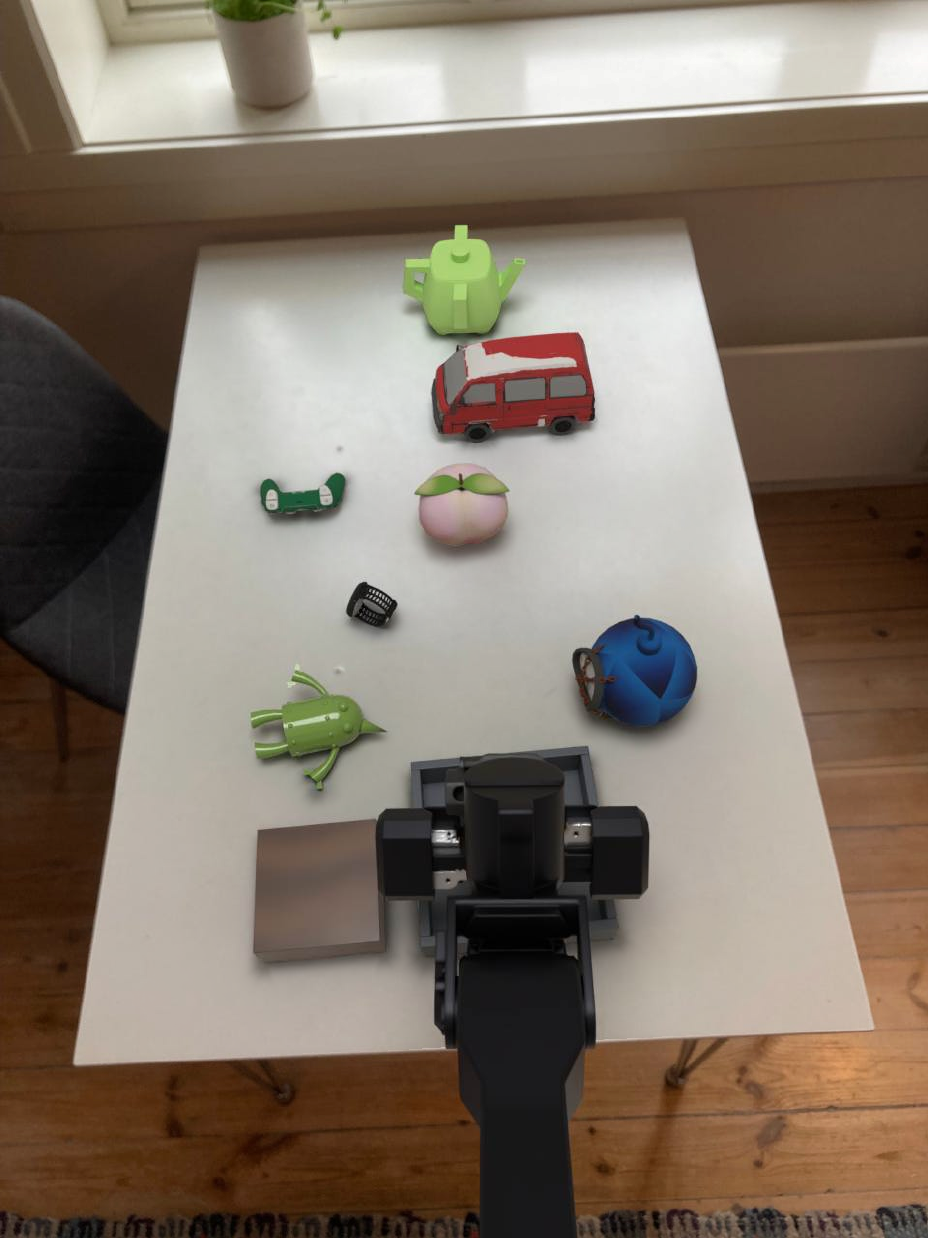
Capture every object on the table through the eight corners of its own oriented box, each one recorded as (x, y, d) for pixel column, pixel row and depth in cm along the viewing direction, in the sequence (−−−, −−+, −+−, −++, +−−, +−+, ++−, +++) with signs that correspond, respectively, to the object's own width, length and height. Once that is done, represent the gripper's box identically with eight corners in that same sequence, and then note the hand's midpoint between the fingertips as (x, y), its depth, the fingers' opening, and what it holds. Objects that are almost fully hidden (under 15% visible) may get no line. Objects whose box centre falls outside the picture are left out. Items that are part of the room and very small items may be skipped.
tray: (613, 940, 75) (619, 928, 71) (424, 958, 75) (420, 947, 71) (584, 763, 83) (588, 745, 79) (414, 779, 83) (410, 761, 79)
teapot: (462, 361, 110) (459, 295, 102) (398, 318, 115) (390, 251, 107) (528, 313, 115) (530, 245, 106) (463, 273, 119) (460, 205, 111)
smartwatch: (371, 594, 93) (365, 566, 89) (405, 624, 91) (400, 597, 87) (341, 618, 92) (333, 591, 88) (374, 649, 90) (368, 623, 86)
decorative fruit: (500, 497, 99) (499, 433, 91) (513, 557, 95) (515, 496, 87) (415, 509, 99) (406, 447, 90) (425, 571, 95) (417, 511, 86)
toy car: (433, 391, 108) (427, 324, 100) (589, 387, 107) (596, 319, 99) (432, 448, 103) (425, 383, 95) (594, 445, 103) (602, 379, 94)
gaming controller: (267, 512, 102) (257, 519, 96) (262, 478, 101) (251, 483, 95) (349, 505, 102) (344, 512, 96) (345, 470, 101) (339, 475, 95)
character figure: (237, 672, 81) (370, 645, 82) (248, 676, 86) (373, 651, 87) (261, 802, 79) (395, 773, 80) (270, 799, 85) (397, 772, 85)
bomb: (559, 664, 88) (569, 578, 75) (667, 642, 89) (694, 553, 76) (588, 756, 83) (603, 680, 70) (701, 731, 84) (737, 652, 71)
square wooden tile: (385, 951, 75) (379, 941, 72) (264, 963, 75) (253, 953, 71) (381, 833, 80) (375, 818, 77) (267, 844, 80) (257, 829, 77)
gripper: (669, 788, 54) (630, 704, 69) (358, 791, 55) (386, 707, 70) (664, 954, 57) (627, 837, 72) (367, 955, 57) (392, 839, 73)
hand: (509, 803), depth 72 cm, fingers closed on puzzle block, 5 cm apart
